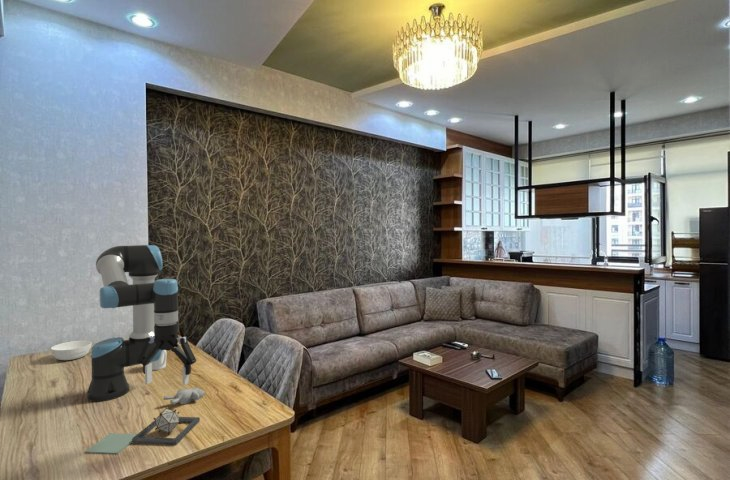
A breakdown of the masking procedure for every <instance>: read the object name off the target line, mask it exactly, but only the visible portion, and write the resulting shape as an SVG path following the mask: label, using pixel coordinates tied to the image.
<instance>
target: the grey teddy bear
mask: <svg viewBox="0 0 730 480" xmlns="http://www.w3.org/2000/svg"><path fill="white" fill-rule="evenodd" d="M205 395H206V391H205V390H203V389H202V388H201V389H200V388H198V387H192V388H180V389H178V390H177V392H176V393H175V395H164V397H163V401H168V400H170V401H169V403H170V405H176V404H177V403H178V404H181V405H183V406H184V405H187V404H190V403H191V402H193V401H199V400H200V399H202V397H204V396H205Z"/></svg>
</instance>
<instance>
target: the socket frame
mask: <svg viewBox="0 0 730 480" xmlns="http://www.w3.org/2000/svg"><path fill="white" fill-rule="evenodd" d="M178 417H179V422H182V423H186V424H187V423H188V425H187V426H186V427H185V428H184V429H183V430H182V431H181V432H180V433H179V434H178V435H177V436H176V437H157V436H156V437H154V436H152V437H151V436H150V437H148V436H146V435H147V434H149V432H151V431H152V430H153V429H155V428H157V426H156V420H154V421H152V422H151V423H150V424H148V425H147V426H146V427H145V428H143V429H142V430H141V431H140V432H138V433H136V434H137V435H136V436H135V437H133V438H132V443H131V444H144V445H145V444H146V445H170V446H171V445H175V446H177V445H178V444H179V443H180V442H181V441H182V440H183V439H184V438H185V437H186V436H187V435H188V434H189V433H190V432H191V431H192V430H194V428H195V427H196V426H197V424H199V423H200V421H201V419H200V417H198V416H178Z"/></svg>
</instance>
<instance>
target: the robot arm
mask: <svg viewBox="0 0 730 480" xmlns="http://www.w3.org/2000/svg"><path fill="white" fill-rule="evenodd" d="M163 263H164V262H163V257H162V252H161V250H160V247H158V246H157V245H154V244H153V245H151V244H150V245H149V244H139V245H137V244H136V245H116V246H113V247H110V248H108V249H106V250H105V251H103V252H102V253H101V254H100V255H99V256H98V257H97V259H96V261H95V267H96V271H97V272H98V274H100V277H101V280H102V283H103V286H102V287H100V289H99V305H100V307H101V308H102V309H116V308H122V307H123V308H124V307H130V306H132V332H131V333H130V334H129V335H128V339H125V340H124V338H123V337H120V336H118V337H111V338H106V339H104V340H101V341H98V342H97V343H95V344H93V345H92V346H91V351H90V352H91V353H90V354H91V355H90V358H91V379H90V380H91V381H90V383H89V386H88V388H87V392H86V399H87V400H88V401H90V402H104V401H109V400H112V399H116V398H119V397H122V396H124V395H125V394H127V393H128V392H129V391H130V386H129V382H128V379H127V378H126V375H125V368H128V367H134V366H138V365H142V372H143V375H144V381H145V382H144V384H145V385H149V384H150V383H152V382H153V371H152V363H150V362H153V361H157V360H158V359H159V358H160V356H161V353H162V350H166V351H171V352H172V353H174V354H175V356H177V358H178V359H179V360H180V361H181V363H182V364H183V365H182V369H181V370H182V386H186V385H187V384H188V383H190V374H191V373H192V365H194V363H196V362H197V358H196V356H195V355H194V353H193V350H192V348H191V346H190V344H189V342H188V341H189V340H188V336H183V337H179V322H178V321H179V305H178V304H179V295H178V293H179V287H178V280H176V279H175V278H161V279H157V280H156V277H158V275H159V272H160V271H162V270H163ZM125 273H128V277H129V278H131V280H132V284H130V283H129V280H128V279H127V276H126V274H125Z"/></svg>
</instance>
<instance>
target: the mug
mask: <svg viewBox="0 0 730 480" xmlns="http://www.w3.org/2000/svg"><path fill="white" fill-rule="evenodd" d="M167 354H168V353H167V350H162V353H161V356H160V358H159V359H158V360H157V361H153V362H150V363H152V372H153V371H154V372H155V371H160V370H164V369H165V368H166V367H167V357H168V355H167Z"/></svg>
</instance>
